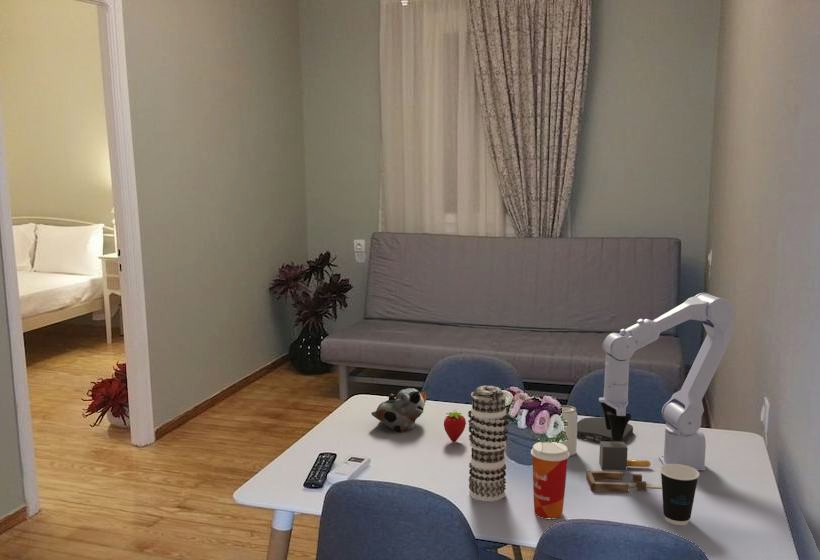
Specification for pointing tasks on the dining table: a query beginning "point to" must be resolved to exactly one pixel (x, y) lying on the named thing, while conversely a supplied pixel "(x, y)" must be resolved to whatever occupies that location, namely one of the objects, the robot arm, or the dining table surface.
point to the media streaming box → (599, 430)
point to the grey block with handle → (617, 457)
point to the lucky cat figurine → (401, 409)
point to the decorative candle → (487, 443)
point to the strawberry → (454, 425)
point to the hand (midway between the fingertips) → (613, 434)
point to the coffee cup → (549, 478)
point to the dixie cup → (678, 492)
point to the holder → (615, 487)
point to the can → (570, 428)
